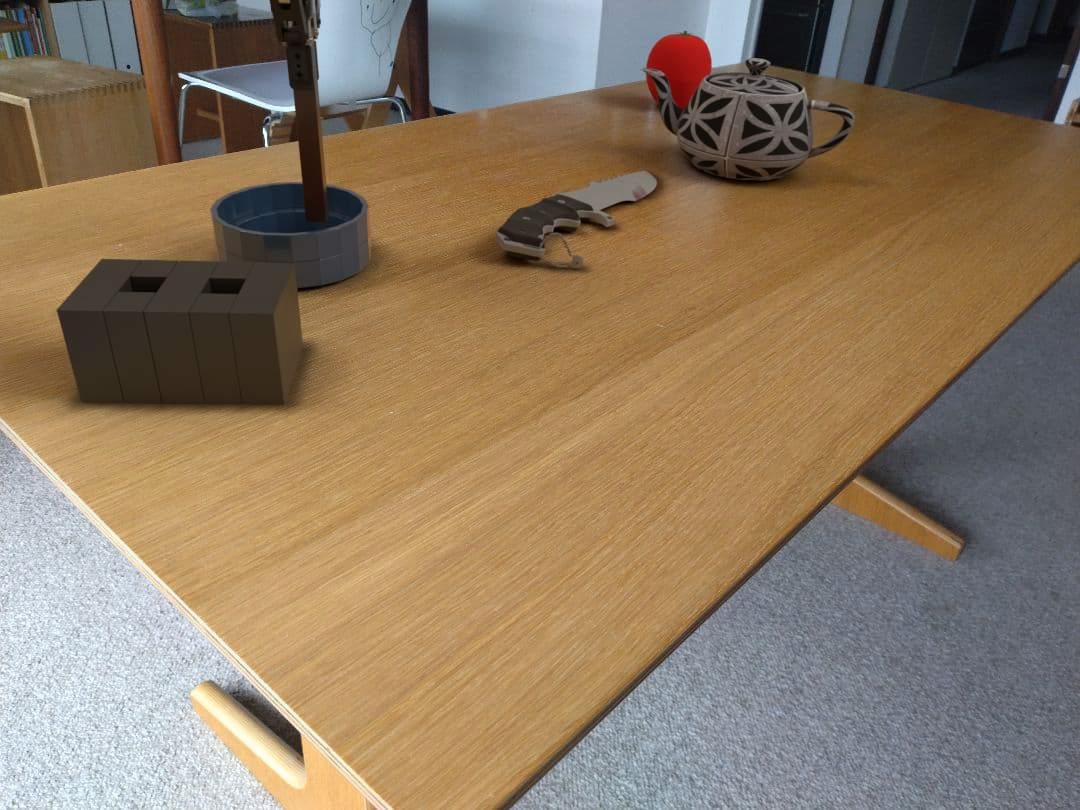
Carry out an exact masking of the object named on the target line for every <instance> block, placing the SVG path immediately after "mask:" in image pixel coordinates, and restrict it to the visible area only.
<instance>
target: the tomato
mask: <svg viewBox="0 0 1080 810" xmlns="http://www.w3.org/2000/svg"><path fill="white" fill-rule="evenodd" d="M712 61H713V60H712V56H711V51H710V49H709V46H708V44H707V43H706V41H705V40H704V38H703V37H701V36H698V35H695V34H693V33H692V32H691V33H688V30H684V31H683V32H679V31H678V32H677V33H672V34H668V35H665V36H662V37H661V38H660V39H659V40H657V41H656V43H655V44H654V45H653V47H652V48H651V49H650V51H649V54H648V57H647V60H646V66H645V68H649V69H654V70H659V71H661V72H663V73H664V75H665V76H666V77H667V79H668V81H669V85H670V89H671V94H672V97H673V100H674V102H675V103H676V104H677V105H678V106H679V107H680V108H682V109H684V110H685V108H686V106H687V104H688V102H689V101H690V99H691V97H692V96H693V94H694V92H695V91H696V89H697V88H698V86H699V84H700V83H701V81H702V80H703V79H704V78H705V77H706V76H708V75H711V74H712V68H713V62H712ZM645 80H646V84H647V88H648V91H649V92H650V95H651V98H652V99H653V100H654V101H655V103H656V104H657V105H659V101H658V94H657V89H656V86H655V83H654V82H653V80H652V78H651V77H650V76H649V75H648V74H646V73H645Z"/></svg>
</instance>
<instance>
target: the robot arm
mask: <svg viewBox="0 0 1080 810" xmlns="http://www.w3.org/2000/svg"><path fill="white" fill-rule="evenodd" d="M268 2H269V5H270V10H271V13H272V18H273V22H274V23H273V24H274V27H275V28H274V29H275V32H276V39H277V41H278V43H282V46H283V47H285V54H286V65H287V74H288V75H287V76H288V84H289V87H290V88H291V89H292V90H293V89H294V90H312V89H313V87H314V86H315V78H314V66H313V54H312V43H313V37H312V34H311V27H313V30H314V42H315V54H316V66H317V78H318V81H319V79H320V74H319V73H320V72H319V60H318V59H319V58H318V47H317V40H318V38H319V35H320V32H319V29H320V27H321V25H322V19H321V8H322V5H321V0H269V1H268ZM291 26H298V27H299V28H293V27H291Z"/></svg>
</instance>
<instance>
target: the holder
mask: <svg viewBox="0 0 1080 810" xmlns="http://www.w3.org/2000/svg"><path fill="white" fill-rule="evenodd" d="M56 313H57V316H58V321H59V324H60V328H61V331H62V335H63V339H64V343H65V348H66V349H67V350H66V351H67V354H68V358H69V362H70V365H71V370H72V374H73V376H74V380H75V384H76V388H77V391H78V395H79V399H80V402H81V404H135V405H136V404H141V405H143V404H145V405H147V404H148V405H150V404H151V405H157V404H158V405H162V404H163V405H238V406H239V405H241V406H242V405H244V406H245V405H246V406H250V405H251V406H284V405H285V404H286V401H287V398H288V395H289V392H290V389H291V386H292V383H293V381H294V377H295V375H296V372H297V368H298V365H299V363H300V359H301V357H302V356H301V355H302V353H303V350H304V342H303V334H302V333H303V331H302V323H301V312H300V303H299V292H298V288H297V282H296V273H295V264H294V263H263V262H255V263H254V262H222V261H220V262H218V260H217V261H213V260H212V261H210V260H173V259H170V260H169V259H167V260H166V259H134V258H133V259H131V258H130V259H126V258H125V259H123V258H101V259H100V260H99V261H98V262H97V263H96V265H94V267H93V268H92V269H91V270H90V271H89V273H88V274H87V275H86V276H85V277H84V278H83V279H82V280H81V281H80V283H78V285H77V286H76V287H75V288H74V290H72V292H71V293H70V294H69V295H68V296H67V297H66V298H65V299H64V301H63V302H62V303H61V304H59V306H58V307H57V308H56Z"/></svg>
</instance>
